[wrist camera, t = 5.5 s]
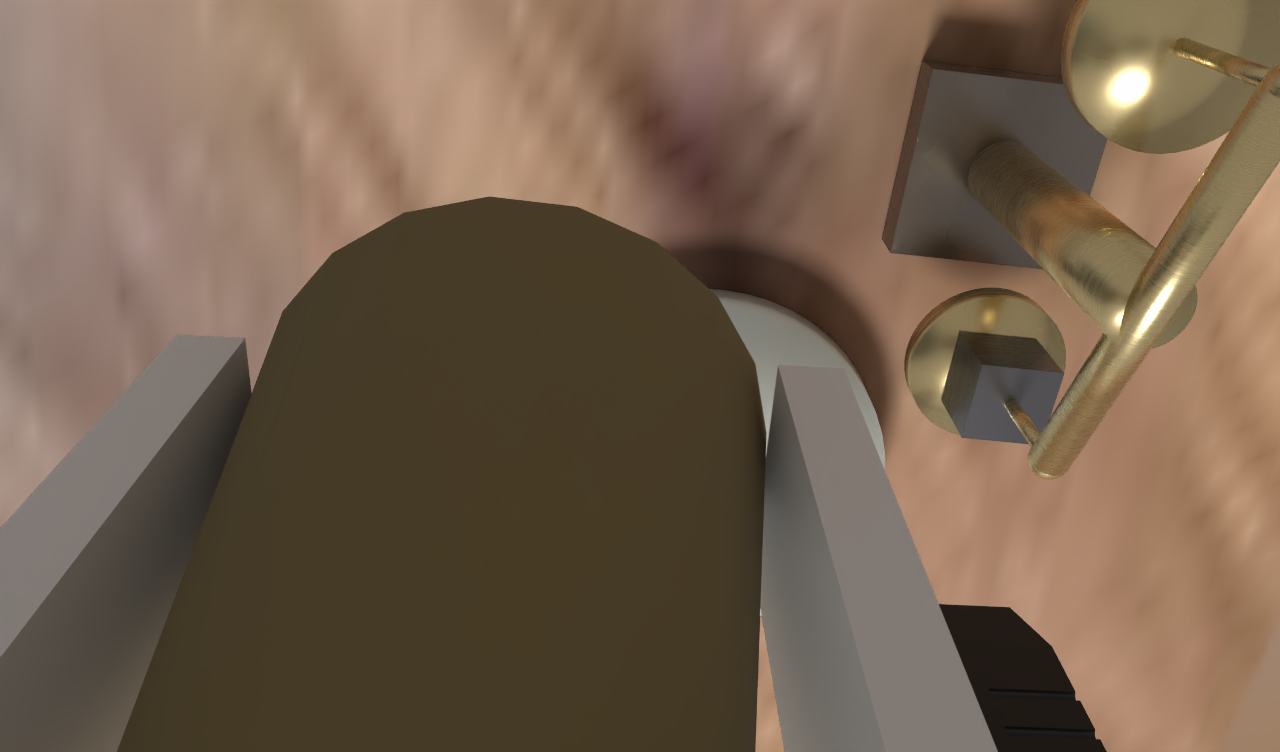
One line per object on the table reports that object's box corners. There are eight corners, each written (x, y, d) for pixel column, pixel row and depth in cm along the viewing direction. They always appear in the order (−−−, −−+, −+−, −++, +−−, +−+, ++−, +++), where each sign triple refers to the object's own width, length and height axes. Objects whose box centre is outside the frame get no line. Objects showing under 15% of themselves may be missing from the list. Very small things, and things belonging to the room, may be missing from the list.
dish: (504, 585, 32) (500, 611, 31) (527, 269, 27) (523, 287, 26) (837, 614, 32) (844, 640, 31) (912, 309, 28) (923, 328, 27)
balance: (853, 366, 29) (969, 643, 19) (960, -107, 24) (1197, -67, 14) (1013, 383, 29) (1211, 664, 19) (1154, -82, 24) (1525, -26, 14)
